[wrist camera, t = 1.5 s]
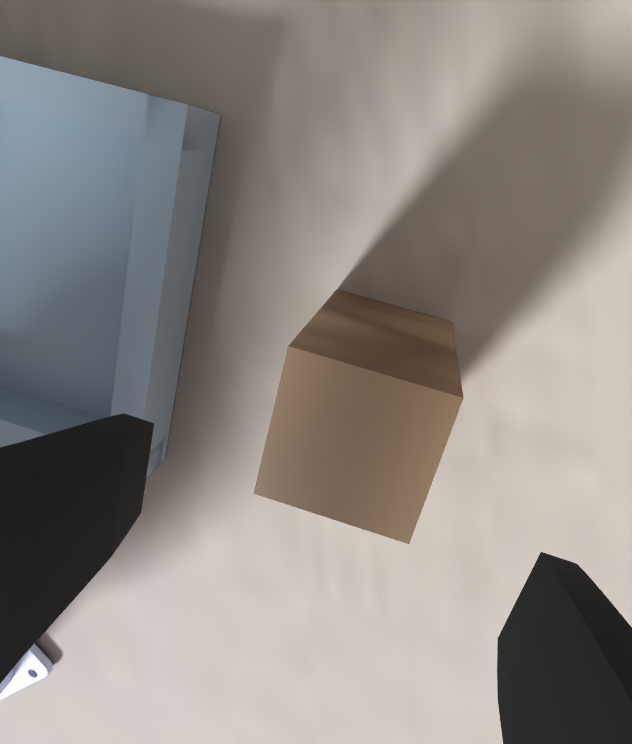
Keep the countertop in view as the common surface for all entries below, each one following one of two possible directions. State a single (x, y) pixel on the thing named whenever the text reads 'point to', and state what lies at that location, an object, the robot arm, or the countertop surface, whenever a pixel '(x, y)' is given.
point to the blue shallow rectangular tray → (95, 249)
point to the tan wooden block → (362, 415)
